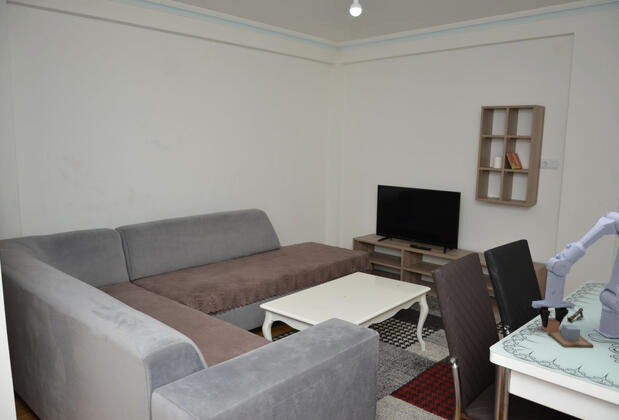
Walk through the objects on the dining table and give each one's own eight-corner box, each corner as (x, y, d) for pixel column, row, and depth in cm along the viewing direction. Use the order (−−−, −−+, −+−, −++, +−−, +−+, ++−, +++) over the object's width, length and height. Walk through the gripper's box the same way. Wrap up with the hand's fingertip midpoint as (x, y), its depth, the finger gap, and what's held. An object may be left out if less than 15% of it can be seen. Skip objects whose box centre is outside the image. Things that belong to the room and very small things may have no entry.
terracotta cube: (552, 328, 172) (553, 318, 171) (558, 332, 168) (559, 322, 168) (541, 328, 172) (543, 317, 171) (547, 332, 168) (548, 322, 167)
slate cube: (572, 335, 163) (573, 324, 163) (578, 340, 159) (580, 329, 159) (560, 335, 163) (562, 324, 163) (567, 340, 159) (568, 329, 159)
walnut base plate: (575, 335, 166) (575, 332, 166) (593, 347, 156) (593, 345, 156) (547, 334, 166) (548, 332, 166) (563, 347, 156) (564, 344, 156)
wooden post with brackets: (586, 317, 182) (584, 307, 181) (573, 328, 179) (571, 318, 178) (581, 315, 184) (580, 305, 182) (568, 326, 181) (566, 316, 179)
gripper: (568, 287, 172) (564, 322, 174) (529, 286, 171) (525, 322, 174) (579, 294, 165) (575, 330, 167) (539, 293, 165) (535, 329, 167)
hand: (550, 326), depth 170 cm, fingers closed on terracotta cube, 4 cm apart
